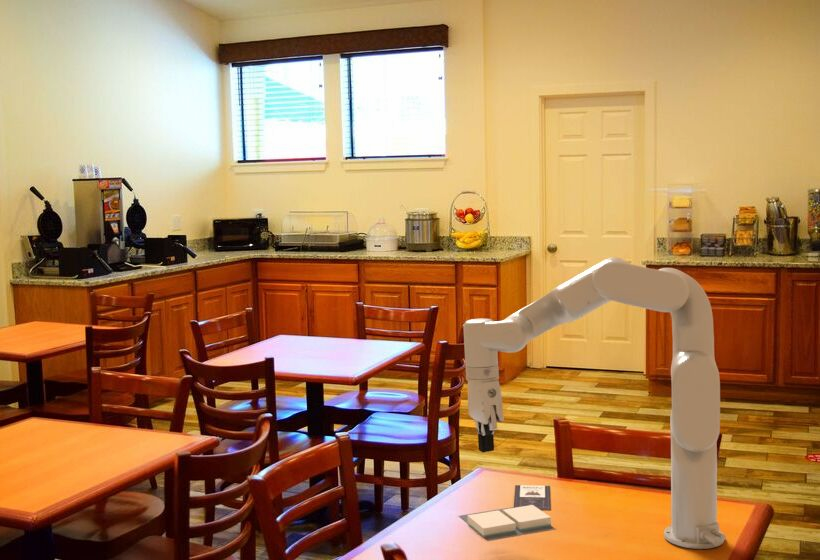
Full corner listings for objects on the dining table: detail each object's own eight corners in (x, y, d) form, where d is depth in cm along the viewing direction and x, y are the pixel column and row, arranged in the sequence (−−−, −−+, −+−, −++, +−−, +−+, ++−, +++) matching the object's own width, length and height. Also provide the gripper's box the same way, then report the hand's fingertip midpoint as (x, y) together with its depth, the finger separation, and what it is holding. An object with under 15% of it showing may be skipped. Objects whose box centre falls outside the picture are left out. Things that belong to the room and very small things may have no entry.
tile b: (498, 518, 209) (515, 531, 200) (467, 523, 206) (483, 537, 197) (498, 510, 208) (515, 523, 200) (467, 515, 206) (483, 528, 197)
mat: (556, 530, 201) (556, 528, 201) (488, 542, 195) (488, 540, 195) (522, 507, 217) (522, 505, 217) (458, 517, 211) (458, 515, 211)
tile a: (532, 512, 212) (551, 525, 203) (502, 517, 209) (519, 530, 200) (532, 504, 211) (550, 517, 203) (502, 509, 209) (519, 522, 200)
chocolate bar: (513, 509, 214) (515, 485, 232) (513, 512, 214) (515, 488, 232) (550, 509, 213) (550, 485, 231) (550, 513, 213) (550, 489, 231)
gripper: (511, 375, 197) (515, 456, 199) (483, 365, 211) (487, 441, 213) (480, 379, 195) (485, 461, 196) (454, 369, 209) (458, 445, 210)
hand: (486, 450), depth 204 cm, fingers closed
